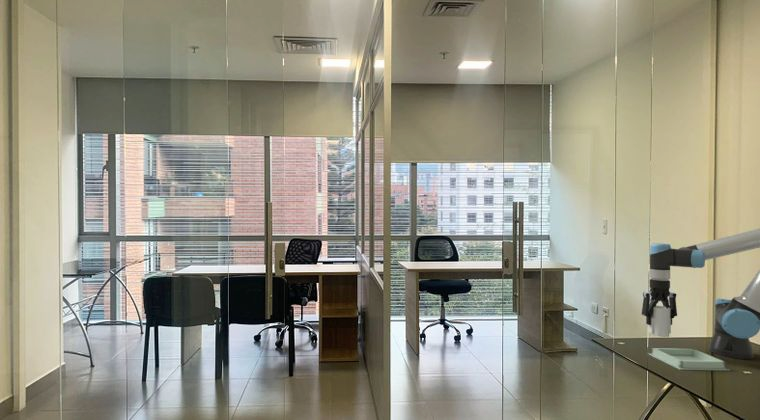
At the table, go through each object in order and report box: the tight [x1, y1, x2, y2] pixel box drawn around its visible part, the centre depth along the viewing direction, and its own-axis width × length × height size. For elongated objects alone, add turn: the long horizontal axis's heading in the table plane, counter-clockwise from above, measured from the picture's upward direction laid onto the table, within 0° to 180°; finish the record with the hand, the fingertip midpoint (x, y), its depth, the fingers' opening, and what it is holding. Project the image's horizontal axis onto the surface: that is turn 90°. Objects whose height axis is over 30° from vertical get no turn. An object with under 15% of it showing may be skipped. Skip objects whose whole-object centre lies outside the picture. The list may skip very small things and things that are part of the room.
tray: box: [647, 347, 731, 372], centre depth 177 cm, size 20×18×3 cm
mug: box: [651, 305, 670, 338], centre depth 192 cm, size 10×7×12 cm, turn 147°
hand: (659, 332), depth 192 cm, fingers closed on mug, 7 cm apart
